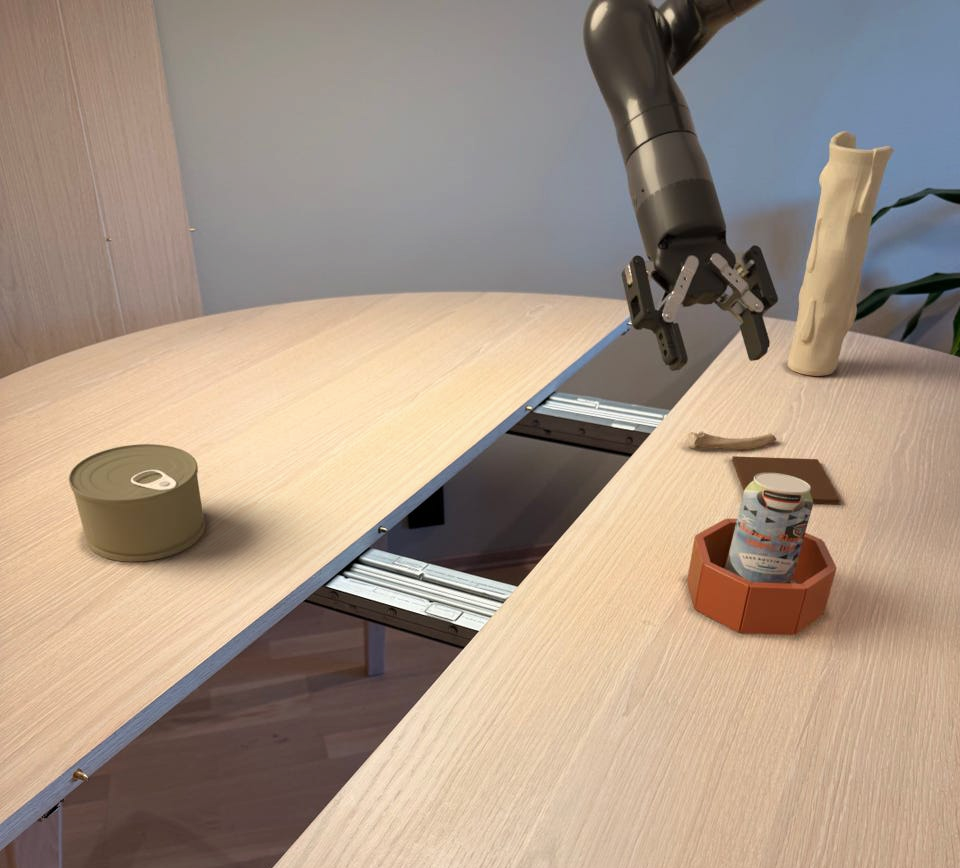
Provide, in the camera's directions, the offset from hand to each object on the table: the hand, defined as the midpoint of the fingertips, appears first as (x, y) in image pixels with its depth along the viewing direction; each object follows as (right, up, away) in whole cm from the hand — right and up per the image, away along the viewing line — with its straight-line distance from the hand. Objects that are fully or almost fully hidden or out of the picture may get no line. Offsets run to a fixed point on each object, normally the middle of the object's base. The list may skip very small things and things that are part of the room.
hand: (720, 362), depth 90 cm
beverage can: (+4, -22, +3) cm, 22 cm away
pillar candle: (+26, +13, +51) cm, 58 cm away
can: (-56, -15, +10) cm, 59 cm away
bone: (+8, -2, +29) cm, 30 cm away
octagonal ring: (+4, -21, +2) cm, 22 cm away
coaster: (+13, -7, +22) cm, 26 cm away
